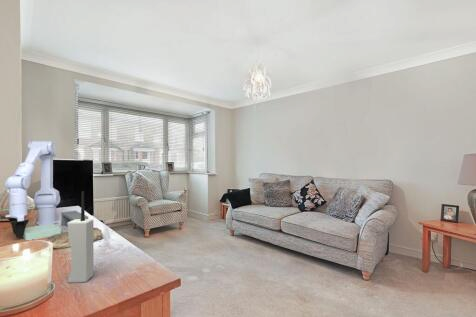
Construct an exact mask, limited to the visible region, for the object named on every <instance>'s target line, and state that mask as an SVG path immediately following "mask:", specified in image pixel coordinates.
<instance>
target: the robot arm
mask: <svg viewBox="0 0 476 317" xmlns="http://www.w3.org/2000/svg"><path fill="white" fill-rule="evenodd" d="M27 151H28V153H27V155H26V157H25V159H24V161H23V162H21V163H19V165H18V166H17V168H16V170H15V171H14V173H13V175H12V176H11V175H10V176H9V177H7V179H6V180H5V183H4V186H5V188H6V193H7V194H8V214H6V215H5V216H4V217H5V218H7V220H8V221H9V223H10V224H11V229H12V233H13V234H14V235H15V237H16V239H17V238H23V235H24V232H25V228H27V224H29V221H30V219H26V217H27V216H28V215H29V213H28V189H29V188H30V186H31V183H32V182H31V180H32V175H33V174H34V172H35V170H36V167H35V164H36V162H37V161H38V160H39V159H40V189H38V190H37V191H36V192H35V193H34V197H33V204H34V206H35V207H36V209H37V208H38V211H37V214H38V215H37V220H38V221H36V222H35V223H36V225H37V226H39V225H45V224H50V223H54V224H59V221H58V220H57V206H58V205H59V204H60V202H61V196H60V191H59V190H57V189H56V188H54V184H53V182H54V178H53V177H54V158H55V157H56V156H57V146H56V143H55V142H54V141H52V140H29V142H28V143H27Z"/></svg>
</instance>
